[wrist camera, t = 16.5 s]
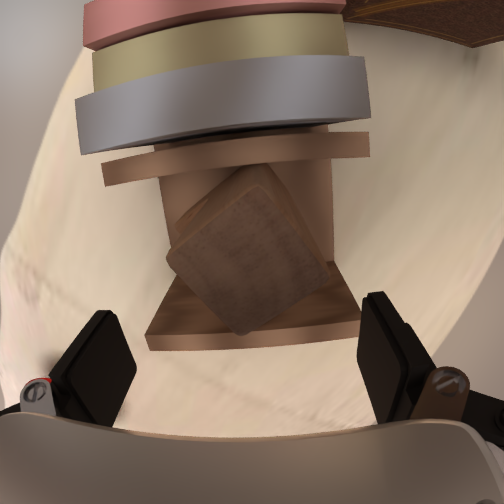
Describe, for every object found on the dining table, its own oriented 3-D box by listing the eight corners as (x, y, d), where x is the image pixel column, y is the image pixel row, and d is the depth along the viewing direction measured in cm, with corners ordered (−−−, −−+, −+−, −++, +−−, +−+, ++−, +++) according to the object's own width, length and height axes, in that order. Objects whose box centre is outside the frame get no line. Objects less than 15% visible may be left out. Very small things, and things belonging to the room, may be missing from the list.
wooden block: (214, 248, 29) (165, 385, 13) (184, 213, 28) (93, 319, 12) (289, 191, 27) (336, 280, 11) (258, 152, 26) (259, 179, 9)
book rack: (312, 33, 23) (364, -57, 7) (330, 272, 32) (380, 383, 16) (149, 53, 24) (54, -4, 8) (183, 284, 33) (134, 396, 17)
